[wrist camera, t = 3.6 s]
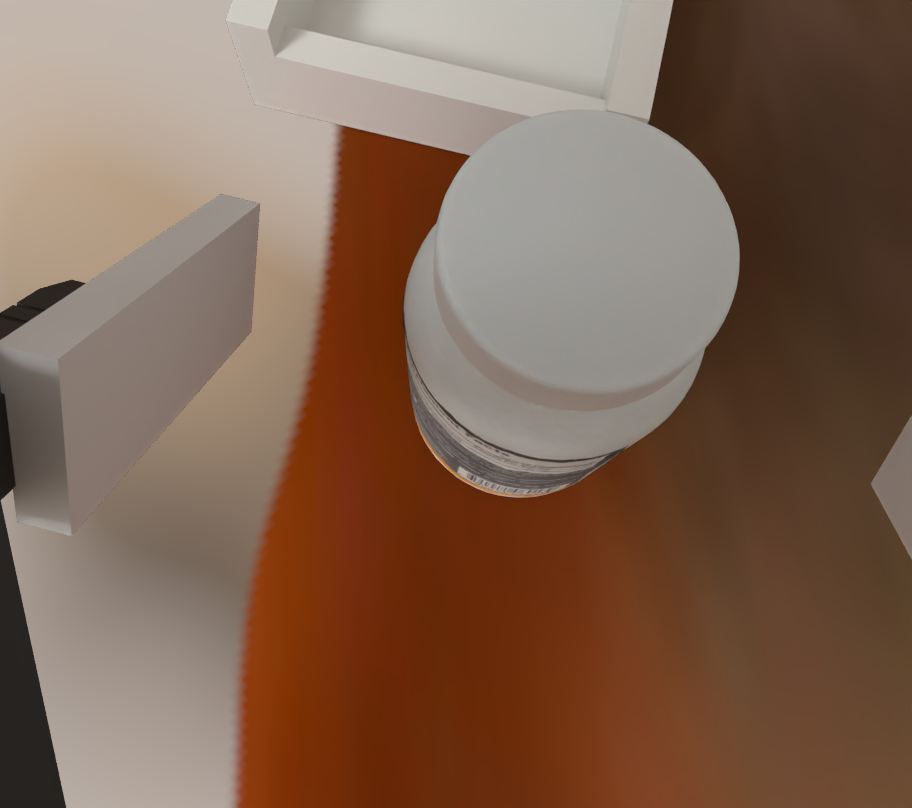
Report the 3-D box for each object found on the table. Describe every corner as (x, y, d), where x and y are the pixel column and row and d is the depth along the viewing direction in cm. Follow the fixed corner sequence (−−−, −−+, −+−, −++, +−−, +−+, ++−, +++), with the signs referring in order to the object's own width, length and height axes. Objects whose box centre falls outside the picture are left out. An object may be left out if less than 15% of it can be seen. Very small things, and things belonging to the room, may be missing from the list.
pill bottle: (517, 262, 22) (588, 10, 13) (661, 406, 21) (855, 252, 12) (367, 391, 21) (320, 224, 12) (512, 548, 20) (593, 508, 11)
